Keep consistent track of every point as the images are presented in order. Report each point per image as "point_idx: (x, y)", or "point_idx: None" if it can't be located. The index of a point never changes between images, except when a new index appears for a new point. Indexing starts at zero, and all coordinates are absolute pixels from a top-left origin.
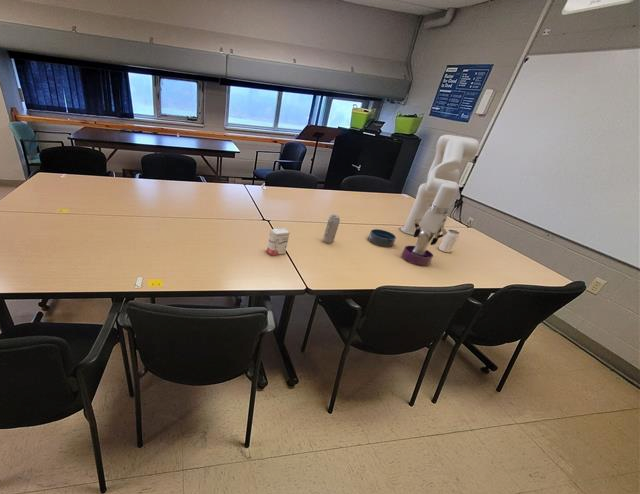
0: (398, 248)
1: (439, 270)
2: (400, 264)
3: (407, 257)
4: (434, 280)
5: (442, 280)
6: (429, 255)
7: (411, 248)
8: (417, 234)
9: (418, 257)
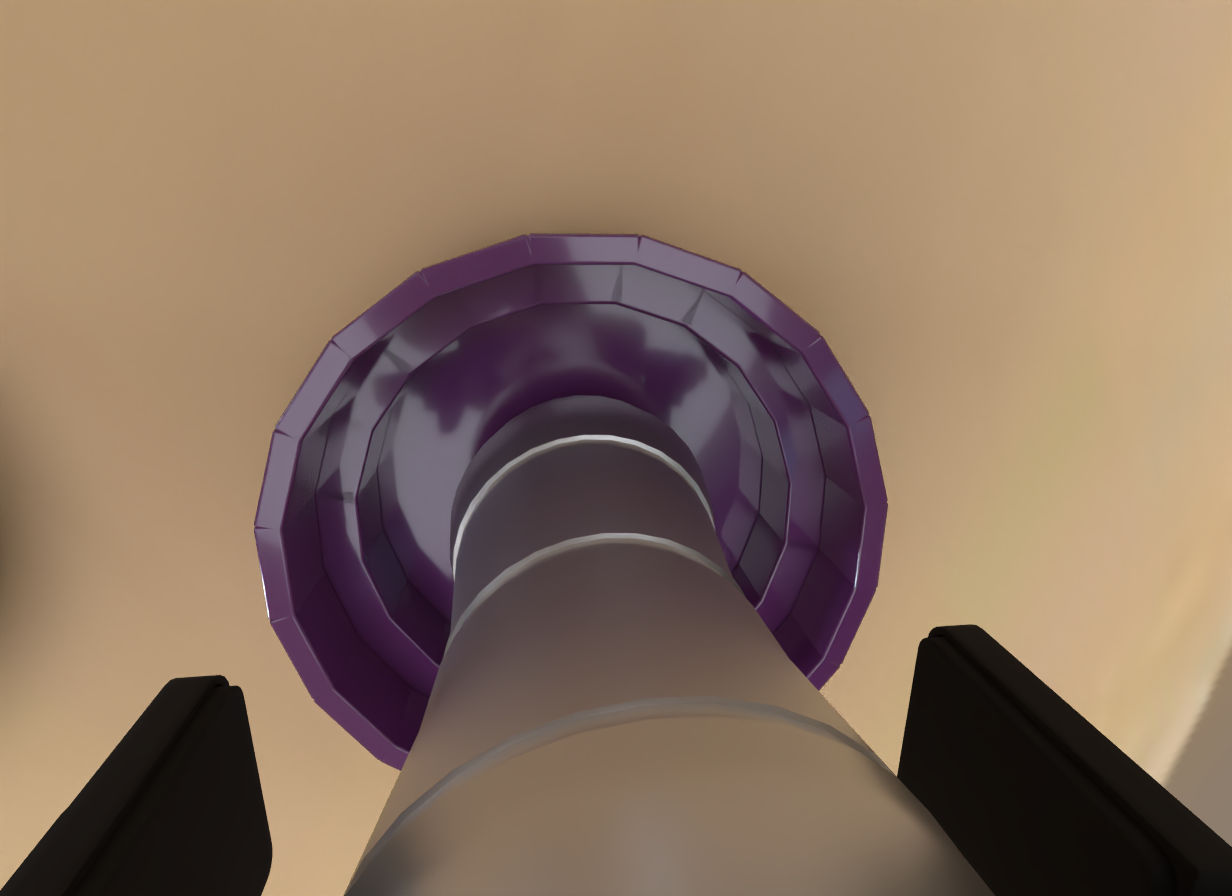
0: (82, 374)
1: (989, 411)
2: None
3: None
4: None
5: (1121, 657)
6: (736, 313)
7: (327, 418)
8: (212, 866)
9: None
